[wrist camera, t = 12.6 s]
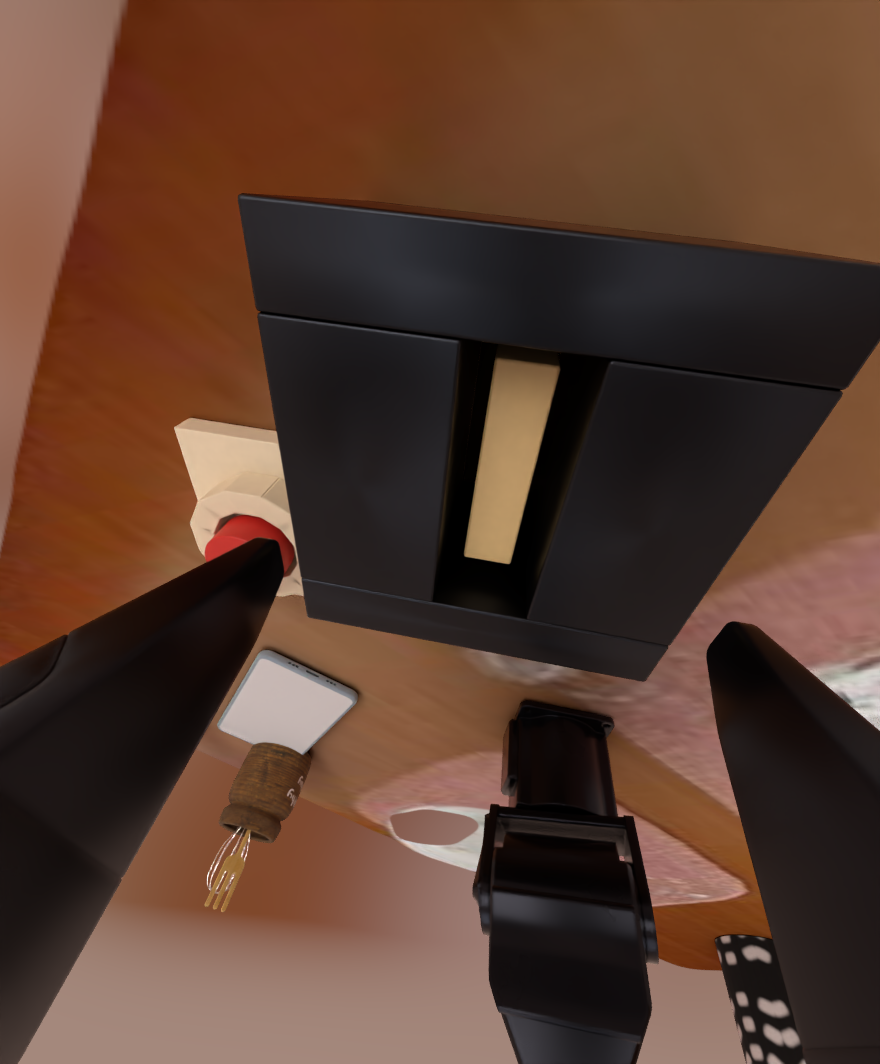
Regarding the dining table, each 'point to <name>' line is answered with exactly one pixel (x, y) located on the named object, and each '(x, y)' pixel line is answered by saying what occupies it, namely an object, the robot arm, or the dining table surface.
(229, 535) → the button
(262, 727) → the smartphone
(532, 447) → the toast
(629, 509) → the toaster
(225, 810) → the utensil holder
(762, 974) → the spotted tube
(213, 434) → the control block
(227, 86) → the dining table surface
